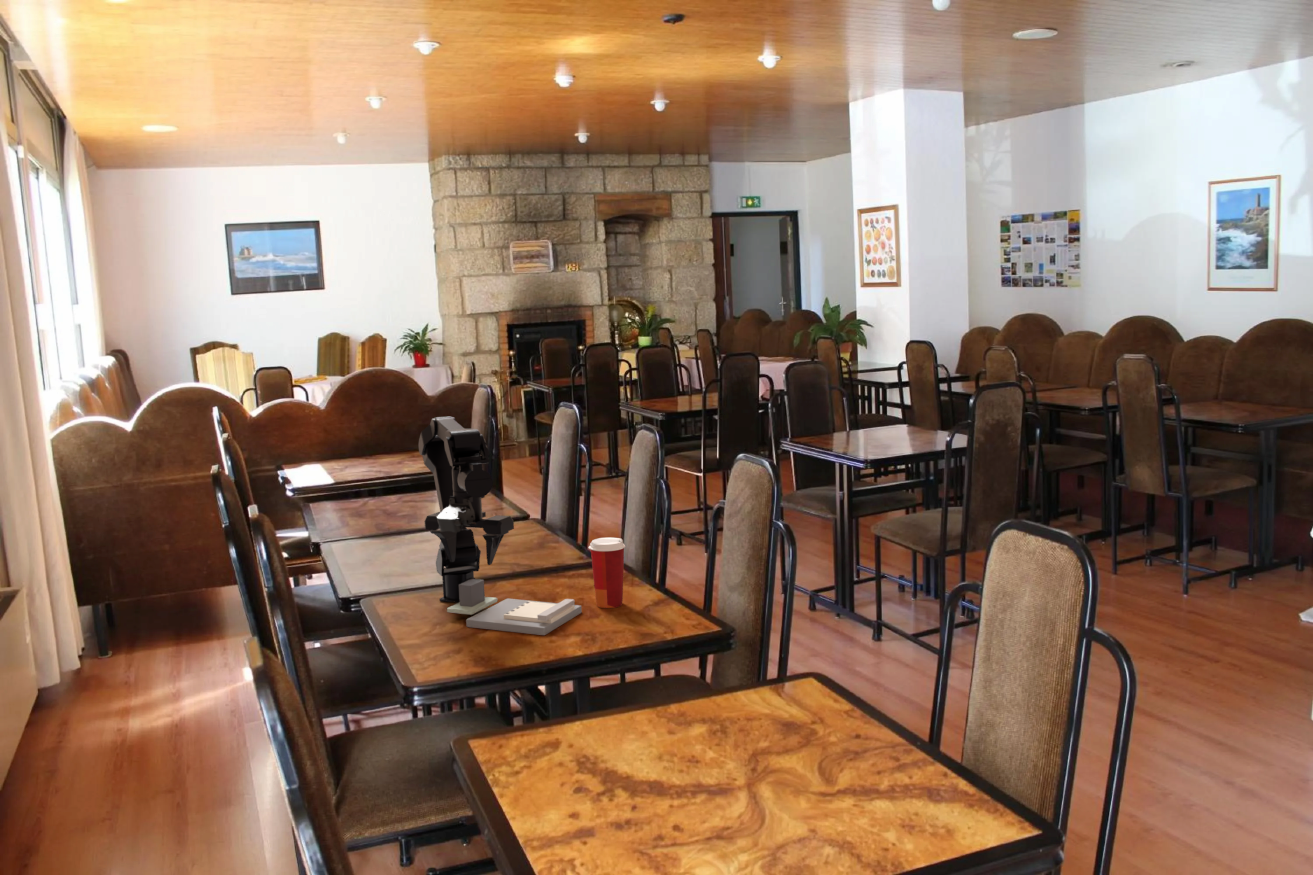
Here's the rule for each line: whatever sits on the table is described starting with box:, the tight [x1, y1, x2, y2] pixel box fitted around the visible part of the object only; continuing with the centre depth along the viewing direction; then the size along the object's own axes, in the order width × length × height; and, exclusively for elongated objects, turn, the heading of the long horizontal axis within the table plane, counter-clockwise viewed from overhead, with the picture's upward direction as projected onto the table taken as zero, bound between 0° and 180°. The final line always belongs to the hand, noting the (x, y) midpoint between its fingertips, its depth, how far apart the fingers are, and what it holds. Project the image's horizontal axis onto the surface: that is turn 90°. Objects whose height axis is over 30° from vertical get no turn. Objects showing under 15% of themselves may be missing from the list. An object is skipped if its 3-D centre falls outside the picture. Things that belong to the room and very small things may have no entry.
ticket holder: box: [465, 597, 582, 636], centre depth 228 cm, size 18×16×3 cm
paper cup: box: [588, 536, 626, 609], centre depth 236 cm, size 8×8×14 cm
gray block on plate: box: [446, 578, 498, 616], centre depth 233 cm, size 6×10×5 cm, turn 157°
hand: (471, 563), depth 232 cm, fingers open, 9 cm apart
